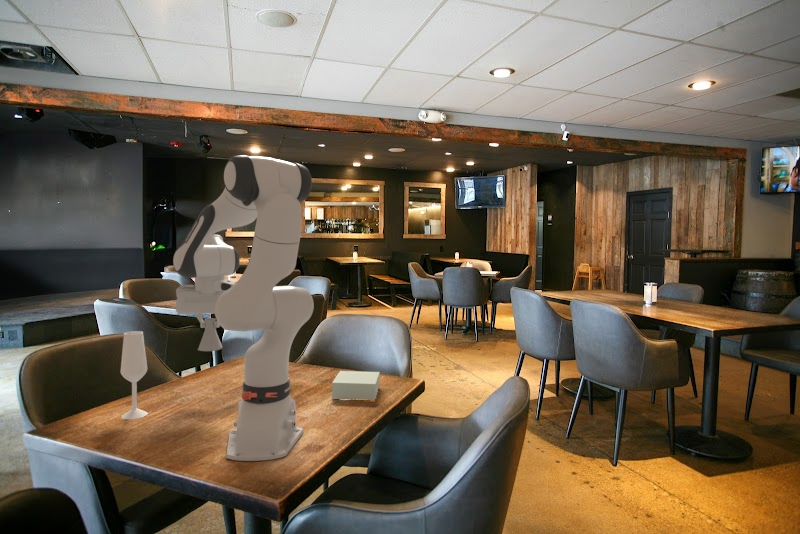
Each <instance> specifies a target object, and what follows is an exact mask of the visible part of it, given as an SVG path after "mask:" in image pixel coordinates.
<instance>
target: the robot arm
mask: <svg viewBox="0 0 800 534" xmlns="http://www.w3.org/2000/svg"><path fill="white" fill-rule="evenodd" d="M312 181H313V180H312V175H311V172H310V170H309V169H308V168H307V167H306V166H305V165H303V164H300V163H297V162H293V161H292V162H290V161H286V160H283V159H277V158H273V157H268V156H251V155H250V156H249V155H246V154H242V155H241V154H240V155H234V156H231V157H230V158H229V159H228V161H227V162H226V163H225V166H224V171H223V184H224V189H223V191H222V193H221V194H220V196H218V198H217V199H216V200H214V201H213V202H212V203H210V204H208V205H206V206H204V208H203V209H202V210H201V211H200V213H199V214H198V216H197V218H196V220H195V221H194V223H193V224H192V227H191V228H190V229H189V232H188V233H187V235H186V237H185V238H184V240H183V241H182V243H181V244H180V245H179V246H178V247H177V248H176V250H175V251H174V254H173V259H172V263H173V269H174V270H175V272H176V273H177V274H178V275H179V276H180V277H182V278H184V279H193V278H194V284H181V285H179V286H178V287H177V288H176V290H175V297H176V304H175V311H176V313H177V314H178V315H190V314H191V315H196V319H197V320H198V322H199V323H200V328H201V329H203V328H204V329H205V326H206V322H205V319H204V318H203V317H204V315H209V314H210V315H211V314H212V315H214V316H215V319H216V321H215V322H214V328H216V329H217V328H220V327H221V328H222V329H224V330H225V331H231V332H232V331H233V332H245V333H246V332H252V331H260V330H264V332H263V334H262V336H261V338H260V339H259V340H258V341H257V342H255V343H254V344H251V345H250V346H249V347H248V348H247V350H246V351H245V354H244V365H243V366H244V373H243V374H244V379H243V380H244V381H243V382H242V387H241V399H240V401H239V402H238V403H237V405H238V406H237V407H238V408H237V410H238V414H237V419H236V420H235V421H234V422H233V423H234V424H233V425H234V427H235V428H232V429H230V430H229V433H228V440H227V445H226V454H225V458H226V459H229V460H232V461H240V462H241V461H243V462H244V461H245V462H253V461H254V462H257V461H259V462H260V461H271V460H276V459H280V458H284V457H287V455H288V454H289V452H291V450H292V448H293V447H294V445H296V443H297V441H298V440H299V438H301V436H302V435H303V433H304V430H303V428H302V427H299V426H297V408H296V407H297V406H296V405H297V404H296V401H295V400H294V399H293V398H292V397H291V396H290V394H291V381H290V378H289V365H290V364H289V363H290V353H291V348H292V344H293V341H294V340H295V337H296V336H297V334H298V332H299V331H300V329H301V328H302V326H304V325H305V324H306V323H307V322H308V321H309V320H310V318H311V317H312V315H313V312H314V309H315V308H314V307H315V306H314V305H315V304H314V298H313V297H312V294H311V292H310V291H309V290H308V289H307V288H306V287H299V286H294V285H278V286H277V284H279V283H280V281H282V280H284V279H285V278H286V277H288V276H290V275H291V274H292V273H293V272H294V270H295V269H296V266H297V259H298V253H299V247H300V240H301V235H302V220H303V219H302V218H303V217H302V214H303V213H302V204H301V203H302V202H304V201H306V200H307V198H308V197H309V195H310V194H311V190H312V186H313V182H312ZM255 220H256V222H255ZM254 222H255V227H254V233H253V234H254V235H253V240H252V247H251V252H250V257H249V260H248V264H247V266H246V268H245V270H244V272H243V273H242V275H241V276H240V277H239V278H238V280H237V281H236V282H235V281H232V280H229V279H226V278H225V276H230V275H234V274H236V272H237V271H238V269H239V268H240V260H241V259H240V253H239V251H238V250H237V249H236V248H235V247H234V246H233V245H228V243H226V242H224V240H223V239H224V238H223V236H221V235H220V234H216V233H218V232H221V231H226V230H228V229H234V228H240V227H241V228H242V227H245V226H248V225H250V224H251V223H254Z"/></svg>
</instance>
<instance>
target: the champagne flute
mask: <svg viewBox="0 0 800 534" xmlns="http://www.w3.org/2000/svg"><path fill="white" fill-rule="evenodd" d="M122 341H123V342H122V352H121V362H120V374H121V376H122V377H123V378H124V379H125V380H127V381H128V382H130V383H131V409H129V410H128V411H127V412H126V413H124V414H122V415H121V419H122V420H138V419H141V418H144V417H146V416H147V415H148V413H149V412H147V411H145V410H142V409H140V408H138V394H137V393H138V391H137V389H138V387H137V382H139V381H140V380H141V379H142V378H143V377H144V376H145V375H146V373H147V372H148V363H147V355H146V353H147V352H146V347H145V337H144V331H142V330H138V331H137V330H136V331H134V330H133V331H126V332H124V333H123V339H122Z"/></svg>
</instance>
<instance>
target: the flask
mask: <svg viewBox="0 0 800 534" xmlns="http://www.w3.org/2000/svg"><path fill="white" fill-rule="evenodd" d="M216 321H217V319H216V317H215V318H213V317H212V318H211V317H208V318H205V319H204V322H206V326H205V328H204V332H203V335H202V337H201V340H200V343H199V346H198V348H197V351H200V352H216V351H219V350H221V349H223V344H222V342H221V340H220V338H219V335H218V332H217V330H216V329H217V328H214V322H216Z"/></svg>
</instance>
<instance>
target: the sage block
mask: <svg viewBox="0 0 800 534" xmlns="http://www.w3.org/2000/svg"><path fill="white" fill-rule="evenodd" d="M380 373H381V372H380V371H361V370H360V371H355V370H339V372H338V373H337V375H336V376H335V378H334V379H333V381H332V382H331V400H332V399H350V400H353V399H354V400H356V399H366V400H367V399H368V400H372V399H373V400H375V399H376V400H377V397H376V395H377V396H378V394H377V392H378V393H379V391H378V389H379V390H380V378H381V376H380V375H381V374H380Z"/></svg>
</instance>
